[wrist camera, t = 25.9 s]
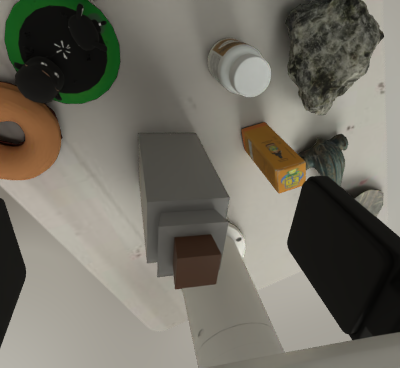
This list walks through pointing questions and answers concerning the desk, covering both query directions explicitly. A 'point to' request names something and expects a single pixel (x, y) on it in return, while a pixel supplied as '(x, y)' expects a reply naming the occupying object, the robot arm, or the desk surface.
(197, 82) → the desk surface
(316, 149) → the decorative handle
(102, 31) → the toy figurine
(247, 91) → the pill bottle
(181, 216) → the perfume bottle
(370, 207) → the sculpture
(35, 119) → the donut
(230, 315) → the robot arm
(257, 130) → the supplement box
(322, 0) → the rock
